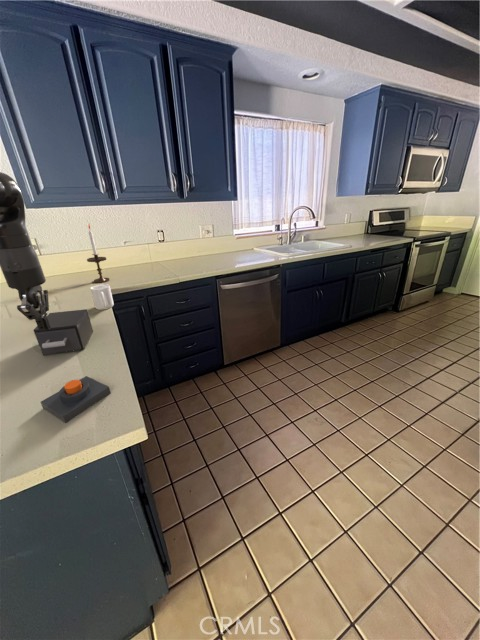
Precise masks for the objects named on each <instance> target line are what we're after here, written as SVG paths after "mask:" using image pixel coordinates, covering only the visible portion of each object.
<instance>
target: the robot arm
mask: <svg viewBox="0 0 480 640" xmlns="http://www.w3.org/2000/svg"><path fill="white" fill-rule="evenodd" d="M26 223H27V222H26V207H25V200H24V196H23V192H22V190H21V188H20V186H19V185H18V183H17V181H15V180H14V179H13V178H12V177H11V175H8V174H6V173H4V172H1V171H0V270H1V272H2V275H3V277H4V279H5V281H6V284H7V287H8V288H10V289H12V290H16V291H17V293H18V299H19V300H20V302H21V304H19V305H16V309H17V311H19V312H20V313H21V314H22V315H23V316H24V317H25V318H26V319H27V320H29V321H33V320H34V321H35V324H36V327H37V326H38V329H39V331H40V332H44V331H48V330H49V329H50V328H51V327H50V324H49V321H48V319H47V315H48V312H49V311H50V306H49V305H50V304H49V291H48V289H43V287H42V285H44V284H45V283H46V282H47V279H46V277H45V273H44V270H43V267H42V265H41V261H40V259H39V256H38V254H37V251H36V249H35V247H34V245H33V243H32V240H31V237H30V234H29V231H28V229H27V226H26Z"/></svg>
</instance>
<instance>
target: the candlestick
mask: <svg viewBox="0 0 480 640" xmlns="http://www.w3.org/2000/svg"><path fill="white" fill-rule="evenodd" d="M88 235H89V240H90V245H91V248H92V253H93V254H91V255H92V257H88V258H86V261H87V262H88V263H95V264H96V266H97V269H96V271H97V275H99V277H98V278H95V279H93V283H95V284H105V283H108V282H110V278H109V277H103V272H102V270H103V269H102V268H101V266H100V263H101V262H104V261H106V260H107V257H106V256H99V253H98V251H97V247H96V243H95V239H94V238H95V237H94V234H93V231H92V230H91V225H90V223H88Z"/></svg>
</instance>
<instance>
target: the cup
mask: <svg viewBox="0 0 480 640" xmlns="http://www.w3.org/2000/svg"><path fill="white" fill-rule="evenodd" d="M89 289H90V293H91V297H92V300H93V304H94V307H95V308H96V309H97V310H99V311H101V310H102V311H103V310H108V309H111V308H113V307H114V305H115V303H114V299H113V298H114V297H113V294H112V290H111V285H110V284H107V283H100V284H95V285H93V286H91V287H90V288H89Z"/></svg>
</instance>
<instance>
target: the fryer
mask: <svg viewBox="0 0 480 640" xmlns="http://www.w3.org/2000/svg"><path fill="white" fill-rule="evenodd" d="M47 319H48V321H49V324H50V327H51V328H50V329H49V330H57V329H65V328H74V327H75V329H76V332H77V335H78V338H79V342H80V345H81V349H80V350H74V351H73V352H77V351H84V350H85V349H86V348H87V345H88V343H89V340H90V339H91V337H92V335H93V333H94V329H93V326H92V322H91V318H90V314H89V311H88V308H86V309H84V308H83V309H75V310H66V311H56V312H49V313H47ZM33 332H34V336H35V337H36V335H35V333H36V332H40V331H39V329H38V326H37V325H36V326H35V328H34V329H33ZM37 343H38V342H37ZM38 345H39V343H38ZM70 352H71V353H72V351H67V352H66V351H65V352H58V353H50V354H42V356H47V355H48V356H49V355H55V354H56V355H57V354H63V353H70Z"/></svg>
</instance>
